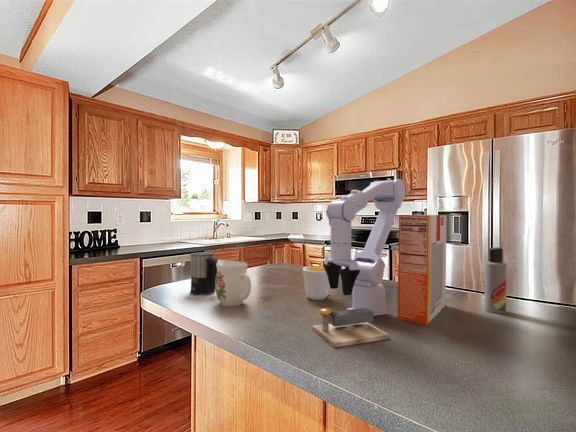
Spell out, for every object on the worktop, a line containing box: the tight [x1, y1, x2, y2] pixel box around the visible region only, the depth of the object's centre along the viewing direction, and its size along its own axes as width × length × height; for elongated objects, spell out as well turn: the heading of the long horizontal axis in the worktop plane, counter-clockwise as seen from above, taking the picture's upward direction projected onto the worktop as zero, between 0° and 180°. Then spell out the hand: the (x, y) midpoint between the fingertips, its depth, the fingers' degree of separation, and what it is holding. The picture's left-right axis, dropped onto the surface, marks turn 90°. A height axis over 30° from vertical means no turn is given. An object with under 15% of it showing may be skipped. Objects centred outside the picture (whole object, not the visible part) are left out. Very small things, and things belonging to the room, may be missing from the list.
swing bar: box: [319, 307, 375, 326], centre depth 83 cm, size 14×4×4 cm, turn 111°
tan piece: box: [312, 315, 390, 348], centre depth 82 cm, size 15×12×5 cm
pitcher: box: [215, 259, 252, 307], centre depth 107 cm, size 11×18×14 cm, turn 43°
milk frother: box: [189, 251, 220, 295], centre depth 125 cm, size 14×16×15 cm
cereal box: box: [397, 214, 448, 325], centre depth 101 cm, size 23×8×30 cm, turn 143°
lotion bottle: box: [483, 247, 507, 314], centre depth 102 cm, size 6×6×20 cm
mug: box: [302, 266, 330, 301], centre depth 117 cm, size 14×10×10 cm
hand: (340, 291), depth 91 cm, fingers open, 7 cm apart
